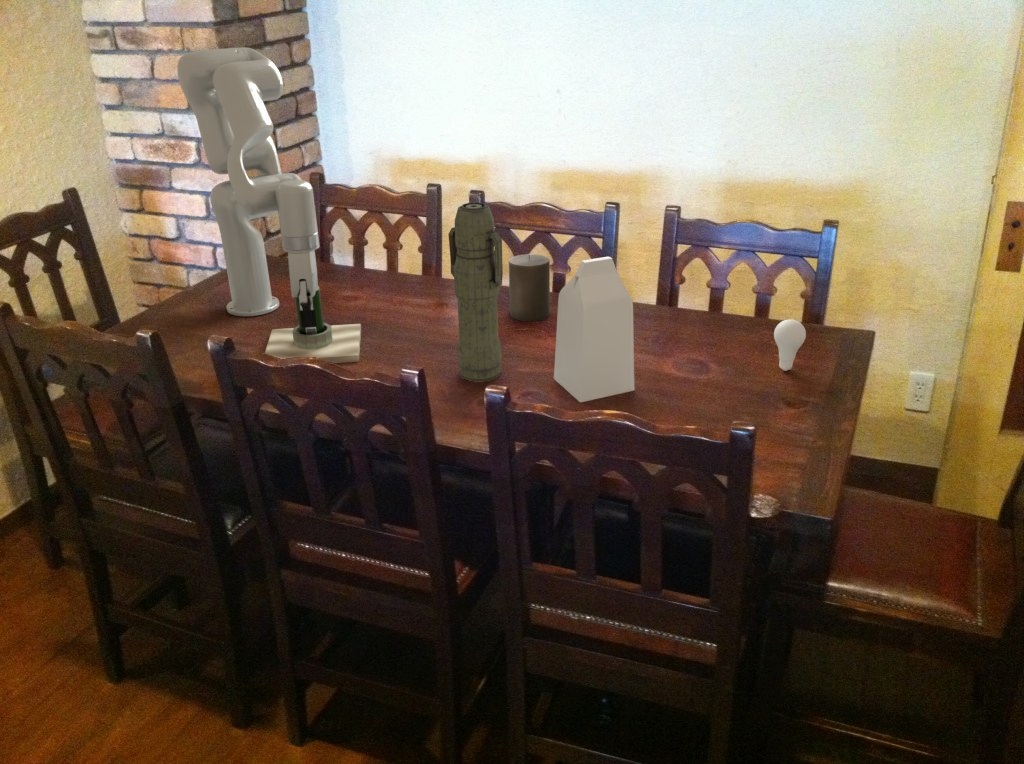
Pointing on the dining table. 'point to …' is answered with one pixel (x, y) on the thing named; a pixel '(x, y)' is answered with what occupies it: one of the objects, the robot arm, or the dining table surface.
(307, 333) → the beer can
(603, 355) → the milk
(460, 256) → the thermos
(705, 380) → the dining table surface
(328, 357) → the carrier plate
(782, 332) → the lightbulb
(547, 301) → the pillar candle
